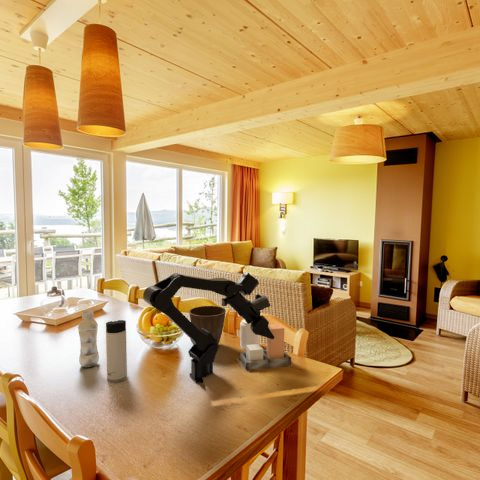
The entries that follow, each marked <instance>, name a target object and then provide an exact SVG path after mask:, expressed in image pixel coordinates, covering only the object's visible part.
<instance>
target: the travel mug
mask: <svg viewBox="0 0 480 480" xmlns="http://www.w3.org/2000/svg"><path fill="white" fill-rule="evenodd" d="M126 323H127V321H126V320H124V319H118V320H114V321H107V322H105V328H106V329H105V341H106V342H105V345H106V380H107V382H109V383H111V384H112V383H113V384H115V383H121V382H124V381H126V379H127V378H128V361H127V356H128V355H127V324H126Z"/></svg>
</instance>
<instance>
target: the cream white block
mask: <svg viewBox="0 0 480 480" xmlns="http://www.w3.org/2000/svg"><path fill="white" fill-rule="evenodd" d="M263 350H264V348H263V347H262V345H261V344H260V345H259V344H252V345H246V350H245V352H246V359H247V361H257V360H263Z"/></svg>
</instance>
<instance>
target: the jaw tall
mask: <svg viewBox="0 0 480 480" xmlns="http://www.w3.org/2000/svg"><path fill="white" fill-rule="evenodd" d="M268 328H269V329H270V331H271V332H272V334H273V335H274V337H275V338H274V339H270V338H267V337H266V350H267V357H268V358H269V359H274V358H283V357H284V351H285V327H284V326H283V325H282V324H280V323H273V324H272V323H271V324H270V323H269V324H268Z"/></svg>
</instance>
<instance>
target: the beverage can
mask: <svg viewBox="0 0 480 480" xmlns="http://www.w3.org/2000/svg"><path fill="white" fill-rule="evenodd" d="M239 325H240V327H239V329H240V331H239V332H240V333H239V334H240V336H239V341H240V342H239V344H240V345H239V347H240V348H241V349H242V350H244V351H246V345H252V344H259V345H260V346H261V336H260V335H255V334H254V333H253V332H252V330H251V328H250V325H251V323H249V324H248V323H247V322H246V321H245V320H244V319H243V318H242V319H241V321H240V324H239Z"/></svg>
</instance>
